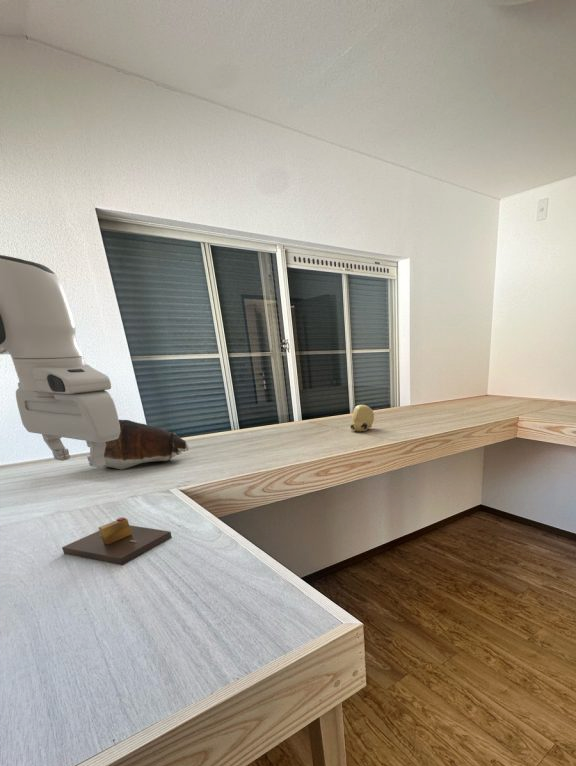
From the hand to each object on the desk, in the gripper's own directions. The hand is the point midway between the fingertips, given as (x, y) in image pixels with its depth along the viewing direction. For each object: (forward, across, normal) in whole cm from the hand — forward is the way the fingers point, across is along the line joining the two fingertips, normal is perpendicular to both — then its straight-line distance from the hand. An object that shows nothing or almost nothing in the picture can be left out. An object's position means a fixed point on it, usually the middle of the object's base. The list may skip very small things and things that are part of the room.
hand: (80, 462), depth 70 cm
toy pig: (+18, -7, +118) cm, 119 cm away
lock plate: (+18, +2, +2) cm, 18 cm away
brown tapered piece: (+19, -49, +47) cm, 71 cm away
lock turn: (+15, +2, +2) cm, 15 cm away
